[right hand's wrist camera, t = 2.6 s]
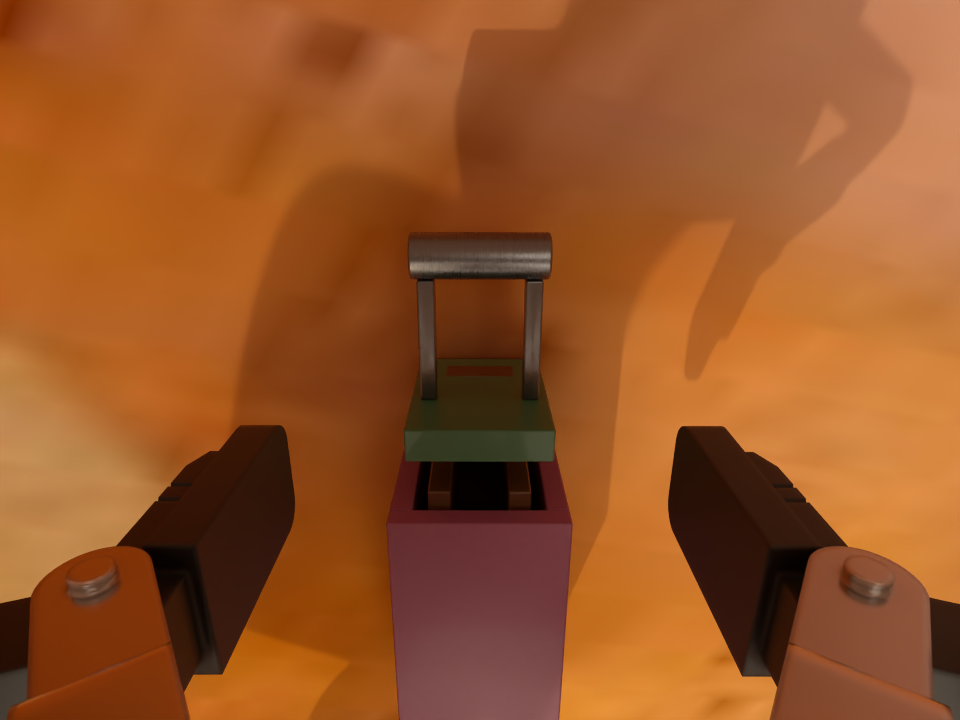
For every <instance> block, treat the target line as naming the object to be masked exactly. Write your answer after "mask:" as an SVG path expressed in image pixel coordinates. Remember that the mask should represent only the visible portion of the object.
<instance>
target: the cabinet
mask: <svg viewBox="0 0 960 720" xmlns="http://www.w3.org/2000/svg"><path fill="white" fill-rule="evenodd" d="M527 464H528V471H529V478H530V485H531V492H532V494H531V510H428V486H429V479H430V472H431V465H432V461H406V460H405V448H404V452H403V456H402V460H401V465H400V469H399V473H398V477H397V482H396V486H395V490H394V494H393V499H392V503H391V507H390V512H389V516H388V520H387V540H388V555H389V571H390V587H391V602H392V618H393V633H394V649H395V665H396V680H397V696H398V711H399V720H559V714H560V700H561V685H562V671H563V656H564V642H565V627H566V613H567V598H568V584H569V569H570V555H571V540H572V526H573V524H572V520H571V515H570V512H569V507H568V503H567V499H566V495H565V491H564V486H563V482H562V478H561V474H560V469H559V465H558V461H557V457H556V452H555V453H554V461H553V462H527Z"/></svg>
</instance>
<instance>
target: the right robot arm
mask: <svg viewBox="0 0 960 720" xmlns="http://www.w3.org/2000/svg"><path fill="white" fill-rule="evenodd" d="M158 498H159V499H158V501H155V502H154V503H153V504H152V506H151V507H150V508H149V509H148V510H147V511H146V512H145V514H144V515H143V516H142V517H141V518H140V519H139V520H138V522H137V523H136V524H135V525H134V526H133V527H132V528H131V530H130V531H129V532H128V533H127V534H126V535H125V536H124V538H123V539H122V540H121V541H120V542H119V543H118V544H117V546H116V547H108V548H102V549H98V550H94V551H91V552H88V553H85V554H82V555H80V556H78V557H75V558H73V559H71V560H69V561H67V562H65V563H64V564H62V565H60V566H59V567H57V568H56V569H54V570H53V571H51V572H50V573H49V574H48V575H46V576H45V577H44V578H43V579H42V580H41V581H40V582H39V584H38V585H37V586H36V588H35V589H34V591H33V593H32V595H31V597H29V598H24V599H19V600H14V601H10V602H5V603H0V720H190V716H189V712H188V708H187V704H186V699H185V695H184V691H185V689H186V687H187V686H188V684H189V682H190V680H191V678H192V676H193V674H223V672H224V670H225V667H226V665H227V663H228V661H229V659H230V657H231V655H232V653H233V651H234V648H235V646H236V644H237V642H238V640H239V638H240V636H241V634H242V632H243V629H244V627H245V625H246V623H247V621H248V619H249V617H250V615H251V612H252V610H253V608H254V606H255V604H256V602H257V600H258V598H259V596H260V593H261V591H262V589H263V587H264V585H265V583H266V581H267V579H268V576H269V574H270V572H271V570H272V568H273V566H274V564H275V562H276V560H277V557H278V555H279V553H280V551H281V549H282V547H283V545H284V543H285V541H286V538H287V536H288V534H289V532H290V530H291V527H292V523H293V518H294V511H295V496H294V488H293V480H292V473H291V465H290V457H289V450H288V442H287V436H286V432H285V430H284V428H283V427H282V426H281V425H242V426H239V427H238V428H237V429H236V430H235V432H234V433H233V434H232V435H231V437H230V438H229V439H228V440H227V442H226V443H225V444H224V445H223V447H222V448H221V449H220V450H219V451H210V452H208V453H206V454H205V455H203V456H201V457H200V458H198V459H197V460H195V461H193V462H192V463H190V464H188V465H187V466H186V467H185V468H184V469H183V470H182V471H181V472H180V473H179V475H178V476H177V477H176V478H175V479H174V480H173V481H172V483H171V487H167V488H166V489H165V491H164V492H163V493H162V494H161V495H160V496H159V497H158ZM668 511H669V519H670V524H671V528H672V530H673V533H674V535H675V537H676V539H677V541H678V543H679V545H680V547H681V550H682V552H683V554H684V556H685V558H686V560H687V562H688V564H689V566H690V568H691V570H692V572H693V575H694V577H695V579H696V581H697V583H698V585H699V587H700V589H701V591H702V593H703V595H704V598H705V600H706V602H707V604H708V606H709V608H710V610H711V612H712V614H713V616H714V618H715V620H716V623H717V625H718V627H719V629H720V631H721V633H722V635H723V637H724V639H725V641H726V643H727V646H728V648H729V650H730V652H731V654H732V656H733V658H734V660H735V662H736V664H737V666H738V668H739V671H740V673H741V675H742V676H772V678H773V680H774V682H775V684H776V686H777V691H776V695H775V699H774V704H773V708H772V712H771V716H770V720H960V604H956V603H952V602H947V601H942V600H937V599H934V598H930V597H929V595H928V593H927V591H926V589H925V588H924V586H923V585H922V584H921V582H920V581H919V580H918V579H917V578H916V577H915V576H914V575H912V574H911V573H910V572H909V571H907V570H906V569H904V568H903V567H901V566H900V565H898V564H896V563H895V562H893V561H891V560H889V559H887V558H885V557H882V556H880V555H878V554H875V553H872V552H869V551H866V550H862V549H858V548H852V547H848V546H847V545H846V544H845V543H844V542H843V540H842V539H841V538H840V537H839V536H838V535H837V534H836V532H835V531H834V530H833V529H832V528H831V527H830V526H829V524H828V523H827V522H826V521H825V520H824V519H823V518H822V517H821V515H820V514H819V513H818V512H817V511H816V510H815V509H814V507H813V506H812V505H811V504H810V503H806V498H805V497H804V496H803V495H802V494H801V493H800V492H799V490H798V489H797V488H793V484H792V482H791V481H790V480H789V479H788V478H787V477H786V476H785V475H784V473H783V472H782V471H781V470H780V469H779V468H778V467H777V466H775V465H774V464H772V463H770V462H769V461H767V460H766V459H764V458H762V457H761V456H759V455H757V454H756V453H754V452H745V451H744V450H743V449H742V448H741V447H740V445H739V444H738V443H737V442H736V440H735V439H734V438H733V437H732V436H731V434H730V433H729V432H728V431H727V429H726V428H725V427H723V426H682V427H681V428H680V429H679V431H678V434H677V438H676V444H675V452H674V459H673V467H672V474H671V482H670V489H669V498H668Z"/></svg>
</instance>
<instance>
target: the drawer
mask: <svg viewBox="0 0 960 720" xmlns="http://www.w3.org/2000/svg"><path fill="white" fill-rule="evenodd" d="M408 269H409V275H410V278H411V279H418V280H417V282H416V285H417V312H418V340H419V367H420V369H419V373H418V376H417V380H416V384H415V388H414V392H413V396H412V400H411V404H410V408H409V412H408V416H407V420H406V424H405V428H404V445H405V460H406V461H432V465H431V472H430V479H429V486H428V510H531V494H532V492H531V485H530V478H529V471H528V464H527V462H553V461H554V453H555V434H556V431H555V427H554V423H553V419H552V415H551V411H550V407H549V403H548V399H547V395H546V391H545V387H544V383H543V379H542V375H541V371H540V358H541V333H542V309H543V285H544V282H543V280H542V279H545V280H547V279H549V278H550V275H551V270H552V238H551V234H550V233H548V232H411V233H410V234H409V238H408ZM435 279H525V292H524V326H523V359H437V336H436V296H435Z"/></svg>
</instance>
